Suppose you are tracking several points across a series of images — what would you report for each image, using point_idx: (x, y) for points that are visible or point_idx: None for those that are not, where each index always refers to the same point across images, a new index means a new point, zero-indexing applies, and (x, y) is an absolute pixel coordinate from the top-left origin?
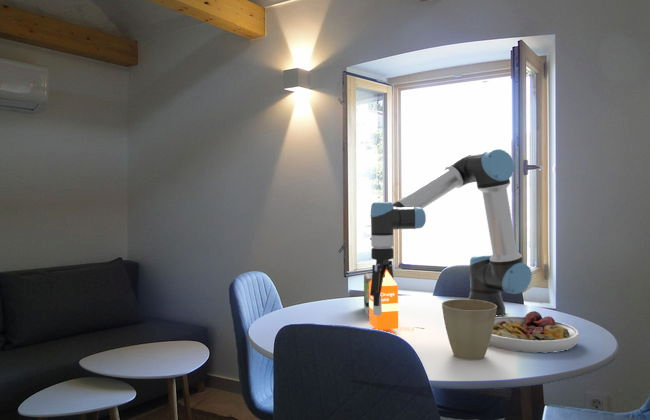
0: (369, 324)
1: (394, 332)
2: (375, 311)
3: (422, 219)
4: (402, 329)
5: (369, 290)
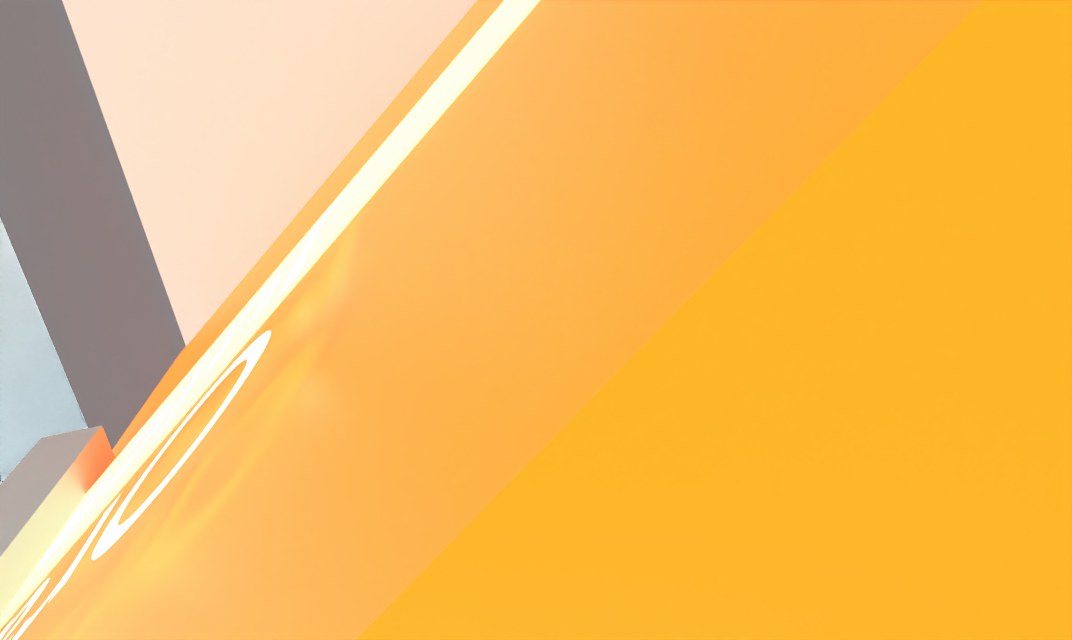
0: None
1: None
2: None
3: None
4: (239, 23)
5: None
